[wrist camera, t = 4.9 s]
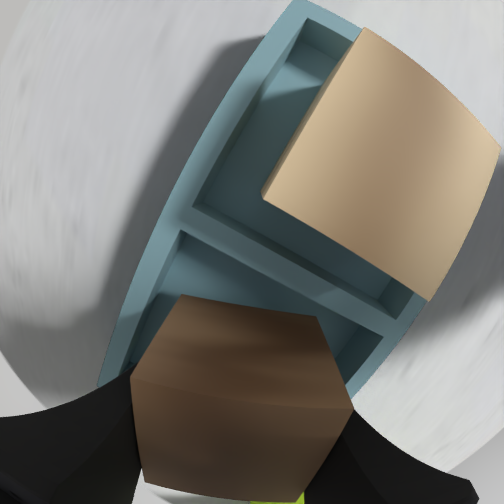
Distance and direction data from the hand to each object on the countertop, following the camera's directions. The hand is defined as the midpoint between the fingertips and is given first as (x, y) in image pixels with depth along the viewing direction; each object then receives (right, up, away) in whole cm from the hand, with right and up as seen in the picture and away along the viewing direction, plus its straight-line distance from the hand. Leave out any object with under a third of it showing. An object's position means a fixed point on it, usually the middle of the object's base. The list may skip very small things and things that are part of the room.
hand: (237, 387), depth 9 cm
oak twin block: (+4, +8, +1) cm, 9 cm away
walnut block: (0, 0, +1) cm, 2 cm away
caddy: (+2, +5, +3) cm, 6 cm away
